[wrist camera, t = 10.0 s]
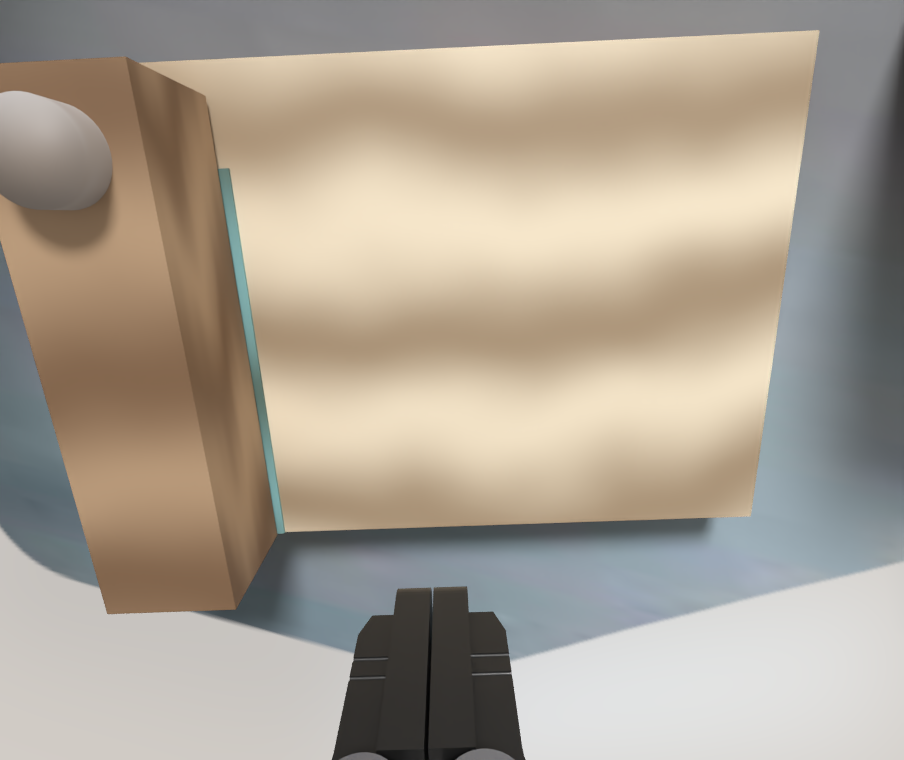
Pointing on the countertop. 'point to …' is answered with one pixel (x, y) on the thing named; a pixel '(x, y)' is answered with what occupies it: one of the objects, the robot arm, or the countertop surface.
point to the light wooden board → (510, 273)
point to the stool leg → (136, 327)
